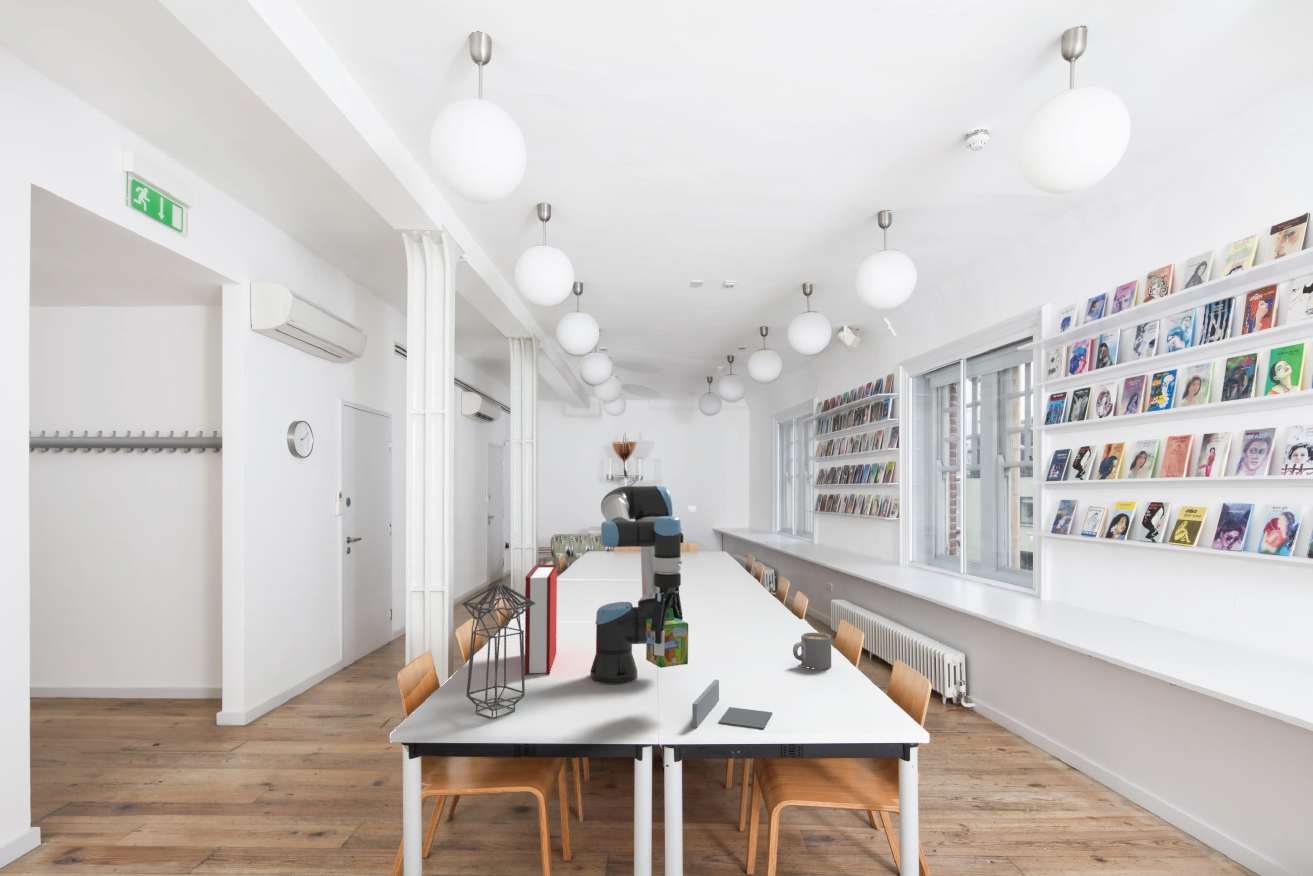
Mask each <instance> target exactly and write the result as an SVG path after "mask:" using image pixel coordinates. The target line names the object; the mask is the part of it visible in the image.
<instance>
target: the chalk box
mask: <svg viewBox="0 0 1313 876" xmlns="http://www.w3.org/2000/svg"><path fill="white" fill-rule="evenodd" d="M667 612H668V613H669V614H670V616H669V617H666V619H665V624H664V628H663V631H664V656H659V655H654V631H651V624H652V619H647V620H646V644H645V646H646V647H645V648H646V651H645V654H646V657H645V660H646V661H648V662H649V663H651V664H652V665H654V666H656V667H658V668H660V669H663V668H668V667H674V666H683V665H684V666H685V665H688V664H689V622H686V621H684V620H683V619H682V620H681V619H677V618H675V617H674V615H673V609H672V608H670V609H668V610H667Z"/></svg>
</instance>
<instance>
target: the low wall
mask: <svg viewBox="0 0 1313 876" xmlns="http://www.w3.org/2000/svg"><path fill="white" fill-rule="evenodd" d="M718 701H720V679H714V680H713V681H712V682H711V683H710V684H709V685H708V686H707V687H706V688H705V690H703V692H702V693H701V694H700V695H699V696H698V697H697V698H696V699H695V700H694V701H693V702H692V704H691V705H692V707H691V708H692V709H691V710H692V712H691V713H692V715H691V716H692V724H691V725H692V728H696V729H697V728H698V727H700V725H701V724H702V722H703V721H704V720H705V719H706V718H707V716H708V715H709V714H710V713H711V712H712V710H713V709H714V708H715V706H716V705H717V704H718V703H719V702H718ZM717 702H718V703H717ZM716 703H717V704H716ZM713 707H714V708H713ZM712 708H713V709H712ZM709 712H710V713H709ZM708 713H709V714H708Z"/></svg>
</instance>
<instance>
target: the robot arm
mask: <svg viewBox="0 0 1313 876" xmlns="http://www.w3.org/2000/svg"><path fill="white" fill-rule="evenodd" d="M600 512H601V514H602V515H603V516H602V517H604V518H605V521H602V523H601V526H600V528H601V529H600V541H601V542H600V544H601V546H602V547H605V548H606V547H607V548H612V549H613V548H627V547H628V548H635V547H638V548H640V562H641V563H640V565H641V566H640V567H641V568H640V570H641V592H642V593H641V594H642V595H641V597H640V598H639V600H638V601H637V606H633V604H632V602H629V601H619V602H618V601H617V602H612V603H607V604H603V605H601V606H599V608H598V609H597V611H596V618H595V627H596V629H595V631H596V633H595V634H596V635H595V655H594V659H593V661H592V666H591V668H590V680H591V679H592V680H591V681H593V682H595V683H598V682H599V683H598V684H603V683H605V684H604V685H622V684H627V683H631V682H633V681H635V680H636V679H638V667H637V665H636V661H635V658H634V654H633V645H646V620H647V619H652V624H651V631H654V655H659V656H664V631H663V628H664V624H665V619H666V617H669V616H670V614H669V613H668V612H667V610H668V609H670V608H672V609H673V615H674V617H675V618H677V619H681V620H682V621H683V618H684V616H683V609H682V603H681V595H680V586H681V585H682V584H681V583H682V582H681V581H682V576H681V572H680V571H681V570H682V569H681V565H682V564H683V560H681V555H682V554H681V545H682V544H681V542H682V541H681V540H682V538H681V537H682V536H681V532H682V527H681V523H682V522H681V518H679V517H677V516H673V502H672V496H671V493H670V491H669V489H668V488H667V487H666V486H660V485H659V486H658V485H650V486H647V485H646V486H645V485H644V486H643V485H639V486H638V485H633V486H630V485H628V486H627V485H625V486H619V487H617V488H614V489H613V490H611V491H610V492H608V493H607V494H605V495H604V496H603V498H602V500H601V504H600ZM632 520H633V521H632ZM634 520H635V521H634Z"/></svg>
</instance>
